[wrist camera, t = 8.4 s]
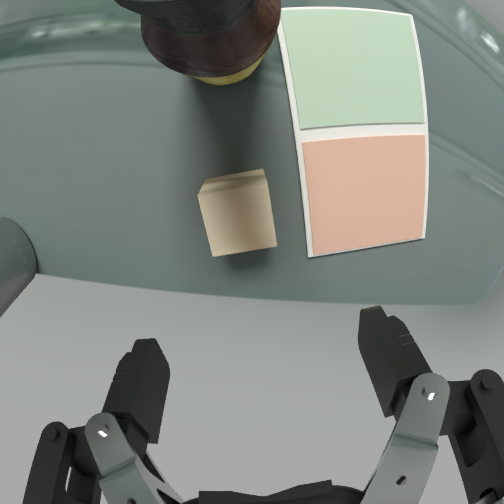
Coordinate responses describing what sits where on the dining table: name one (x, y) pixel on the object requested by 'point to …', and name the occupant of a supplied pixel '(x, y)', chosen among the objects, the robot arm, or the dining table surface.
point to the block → (237, 212)
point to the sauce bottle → (208, 35)
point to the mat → (357, 125)
